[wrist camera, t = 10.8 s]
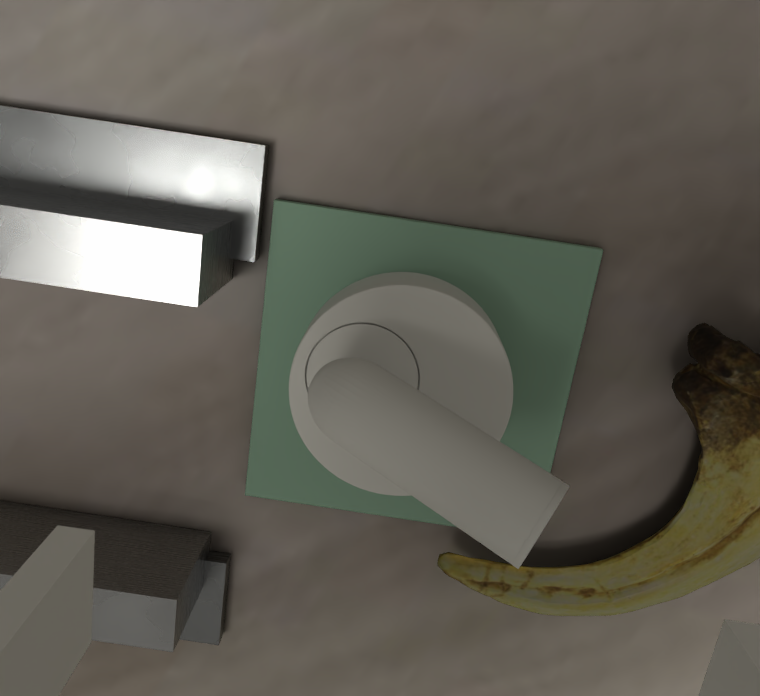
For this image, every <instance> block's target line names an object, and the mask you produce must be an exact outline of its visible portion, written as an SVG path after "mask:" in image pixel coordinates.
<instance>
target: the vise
mask: <svg viewBox="0 0 760 696" xmlns="http://www.w3.org/2000/svg"><path fill="white" fill-rule="evenodd" d="M268 153H269V145H264V144H258V143H251V142H244V141H238V140H231V139H225V138H218V137H211V136H205V135H198V134H191V133H185V132H178V131H172V130H165V129H158V128H152V127H145V126H139V125H132V124H125V123H119V122H112V121H105V120H99V119H92V118H86V117H79V116H72V115H66V114H59V113H53V112H46V111H39V110H33V109H26V108H19V107H13V106H6V105H0V278H7V279H13V280H20V281H26V282H33V283H40V284H46V285H53V286H60V287H66V288H73V289H80V290H86V291H93V292H100V293H106V294H113V295H119V296H126V297H133V298H139V299H146V300H153V301H159V302H166V303H173V304H179V305H186V306H193V307H198V306H200V305H201V304H202V303H203V302H204V301H206V300H207V299H208V298H209V297H211V296H212V295H213V294H214V293H216V292H217V291H218V290H219V289H220V288H222V287H223V286H224V285H225V284H227V283H228V282H229V281H230V280H232V277H233V265H234V259H237V260H244V261H251V262H255V261H256V260H258V259H259V249H260V238H261V227H262V217H263V206H264V196H265V185H266V175H267V164H268ZM57 525H59V526H66V527H73V528H80V529H87V530H94V531H95V543H94V575H93V607H92V640H95V641H102V642H108V643H115V644H122V645H128V646H135V647H142V648H149V649H155V650H162V651H169V652H173V651H174V649H175V647H176V645H177V643H178V640H179V639H181V640H188V641H194V642H201V643H208V644H214V645H219V643H220V641H221V638H222V635H223V629H224V618H225V608H226V597H227V587H228V576H229V566H230V555H231V554H228V553H222V552H215V551H209V549H210V537H211V532H208V531H201V530H194V529H188V528H181V527H174V526H168V525H161V524H154V523H148V522H141V521H134V520H128V519H121V518H114V517H107V516H101V515H94V514H87V513H81V512H74V511H67V510H61V509H54V508H47V507H41V506H34V505H27V504H21V503H14V502H7V501H1V500H0V590H1V589H2V588H3V587H4V586H5V585H6V583H7V582H8V581H9V580H10V579H11V578H12V577H13V576H14V574H15V573H16V572H17V571H18V570H19V569H20V568H21V566H22V565H23V564H24V563H25V562H26V561H27V560H28V558H29V557H30V556H31V555H32V554H33V553H34V552H35V550H36V549H37V548H38V547H39V546H40V545H41V544H42V543H43V541H44V540H45V539H46V538H47V537H48V536H49V535H50V533H51V532H52V531H53V530H54V529H55V528H56V527H57Z"/></svg>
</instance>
